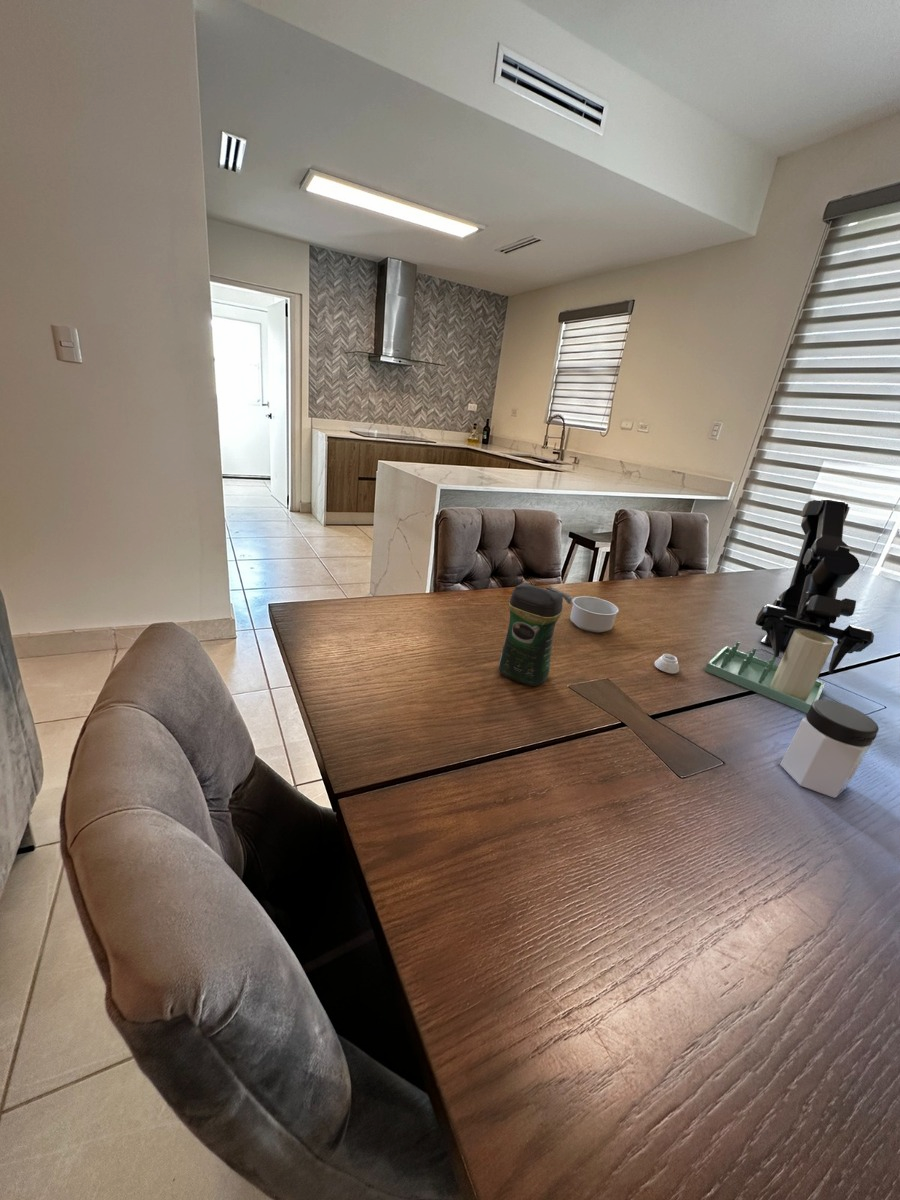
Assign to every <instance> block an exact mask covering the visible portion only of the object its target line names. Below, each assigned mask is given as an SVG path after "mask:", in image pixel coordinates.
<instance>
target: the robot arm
mask: <svg viewBox="0 0 900 1200" xmlns="http://www.w3.org/2000/svg"><path fill="white" fill-rule="evenodd" d="M850 509H851V507H850V506H849V503H846V502H845V501H841V500H837V499H829V498H826V499H821V500H818V499H817V500H816V499H812V500H809V501H807V502H806V503H805V504H804V505H803V508H802V511H801V513H800V517H801V518H802V519H801V523H800V528H801V529H802V532H803V534H804V539H803V542H802V545H801V548H800V552H799V555H798V558H797V561H796V565H795V567H794V571H793V575H792V578H791V581H790V585H789V587H788V588H787V589H785V590H783V592H782V593H781V594H780V595H779V596H778V598H775V600H774V601H773V602H772V604H769V603H768V604H765V605H762V608H761V609H760V610H759V612H758V613H757V616H756V619H755V625H756V626H759V627H761V630H762V631H765V632H766V634H765V636H764V637H763V638H762V639H761V640H760V643H761V644H764V645H766V646H769V647H771V649H772V651H773V655H775V657H776V658H778V657H779V656H780V653H781V651H783V652H785V650H786V648H787V646H788V643H789V641H790V639H791V637H792V634H793V632H794V630H795V629H806V630H811V631H814V632H817V633H820V634H823V635H825V636H827V637H829V638H834V639H837V640H836V644H837V645H835V646H833V650H832V654H831V656H830V657H831V658H830V661H829V665H828V673H829V674H832V673H834V671H835V670H836V669H837V667H838V666H839V664H841V661H842V660H843V659H844V657H845V656H846V655H847V654H853V653H854V652H855V653H861V652H862V651H864V650H865V649H866V648H868V647H869V646H870V645H871V644H873V643H874V639H875V634H874V633H873V631H872V629H869V628H865V627H860V626H856V625H852V624H849V625H848V626H846V627H845V628H844V629H842V628H837V627H833V626H831V624H835V623H836V622H837V618H840V617H841V616H843V617H847V618H848V617H851V616H853V615H854V612H855V609H856V605H857V600H855V599H850V598H847V597H845V598H842V599H838V598H837V595H838V589H840V588H842V587H843V586H844V585H846V583H847V582H848V581H849V580H850V579H851V578H852V577H853V575H854V574H856V572H857V571H858V570H859V569H860V567H861V566H860V565H861V563H860V562H859V559H858V558H857V556H855V555H854V554H852V553H851V552H850V550H851V548H850V546H849V545H848V544H847V543H846V542H845V541H843V534H844V523H845V522H846V519H847V517H848V514H849V511H850Z"/></svg>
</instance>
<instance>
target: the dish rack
mask: <svg viewBox="0 0 900 1200" xmlns="http://www.w3.org/2000/svg"><path fill="white" fill-rule="evenodd" d="M739 646H740V642H739V641H736V643H735V645H734V644H733V646H732V647H730V646H728V645H725V646H724V647H722V649H720V651H719V652H717V654H715V656H714V657H712V658H711V659H710V660H709V661H708V662H707V664H706V667H705V669H704V671H705V672H706V673H709V674H711V675H714V676H716V677H719V678H720V679H723V680H725V681H729V682H731V683H733V684H736V685H737V686H740V687H742V688H745V689H747V690H750V691H751V692H755V693H757V694H759V695H761V696H764V697H766V698H769V699H771V700H774V701H776V702H779V703H781V704H783V705H786V706H788V707H790V708H793V709H795V710H798V711H800V712H802V713H805V714H807V713H808V711H809V709H810V707H811V705H812V703H813V702H814V701H816V700H820V698H821V695H822V693H823V691H824V688H825V685H826V683H825V682H823V681H821V680H818V679H817V680H816V682H815V684H814V686H813V688H812V690H811V692H810V694H809V696H808V698H807V699H806V700H804V701H802V700H800V699H798V698H795V697H793V696H790V695H788V694H785V693H783V692H780V691H778V690H775V689H773V688H771V682H772V679H773V677H774V675H775V673H776V670H777V668H778V666H779V664H776V663H775V661H776V659H777V657H775V655H774V654H773V656H772V658H770V660H769V661H767V660H765V659H762V658H759V657H757V656H755V654H756V651H757V648H756V647H753V648H752V651H750V652H749V653H747V652H743V651H740V650H738V648H739Z"/></svg>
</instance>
